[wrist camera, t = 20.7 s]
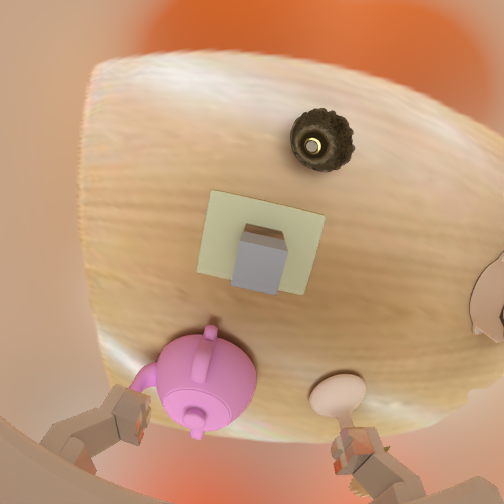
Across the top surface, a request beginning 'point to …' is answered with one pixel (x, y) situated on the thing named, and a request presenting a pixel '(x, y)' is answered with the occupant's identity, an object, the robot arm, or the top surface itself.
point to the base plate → (265, 215)
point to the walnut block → (264, 231)
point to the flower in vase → (341, 406)
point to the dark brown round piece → (322, 140)
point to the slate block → (259, 263)
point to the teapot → (201, 381)
